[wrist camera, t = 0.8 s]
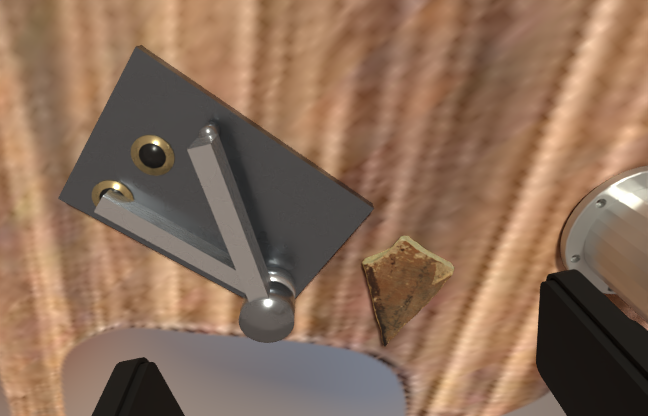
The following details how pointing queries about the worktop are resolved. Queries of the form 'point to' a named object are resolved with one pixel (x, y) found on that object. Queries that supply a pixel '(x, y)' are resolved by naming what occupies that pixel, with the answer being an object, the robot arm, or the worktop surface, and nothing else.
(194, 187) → the divider base plate
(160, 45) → the worktop surface
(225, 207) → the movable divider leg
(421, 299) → the shard
